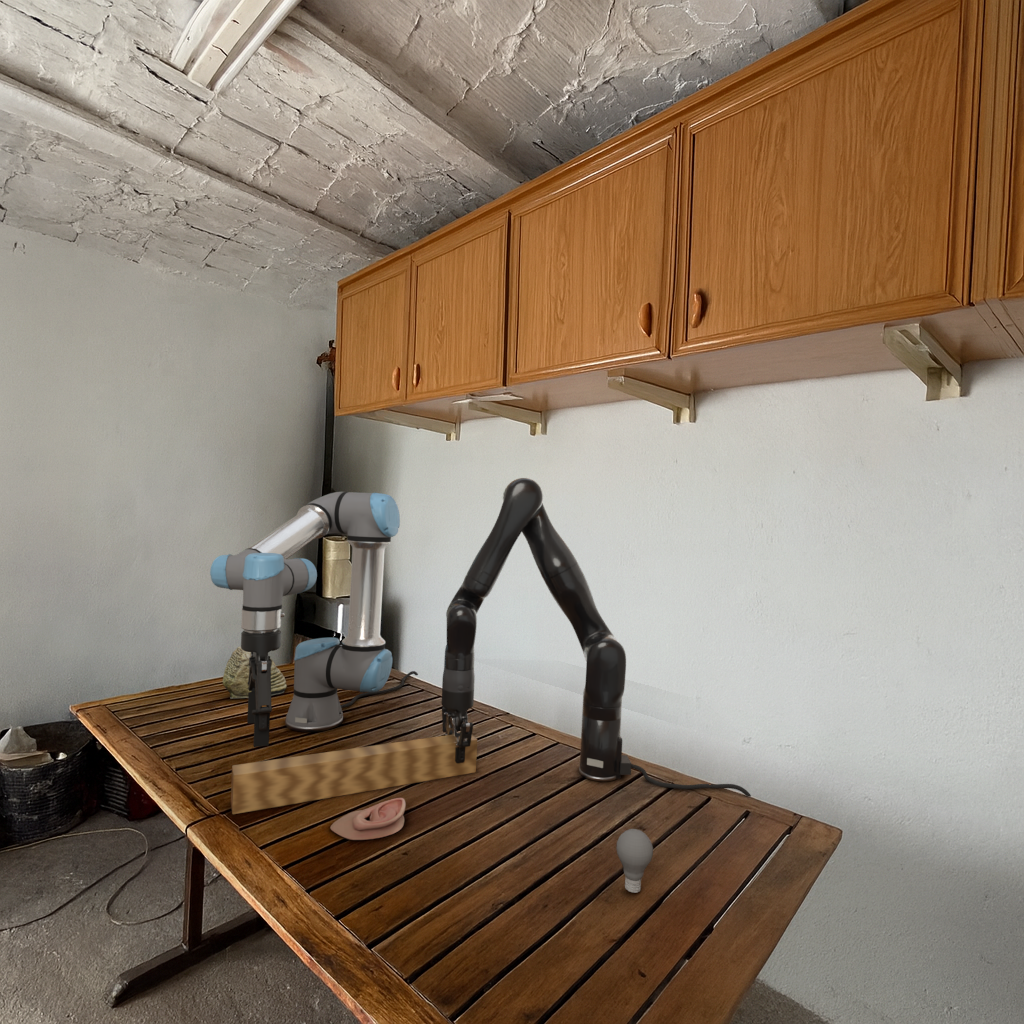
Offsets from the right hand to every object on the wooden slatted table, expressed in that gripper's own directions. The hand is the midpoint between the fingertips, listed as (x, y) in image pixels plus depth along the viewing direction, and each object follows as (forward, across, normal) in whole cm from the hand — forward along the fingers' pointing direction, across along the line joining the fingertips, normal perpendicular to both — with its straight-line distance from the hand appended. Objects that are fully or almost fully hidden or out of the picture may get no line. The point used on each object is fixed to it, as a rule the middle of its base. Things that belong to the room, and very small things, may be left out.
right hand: (455, 757), depth 149 cm
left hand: (-11, 0, +44) cm, 45 cm away
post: (+3, 0, +22) cm, 22 cm away
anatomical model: (+3, -17, +25) cm, 30 cm away
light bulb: (+3, -54, -10) cm, 55 cm away
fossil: (+3, +74, +37) cm, 83 cm away
